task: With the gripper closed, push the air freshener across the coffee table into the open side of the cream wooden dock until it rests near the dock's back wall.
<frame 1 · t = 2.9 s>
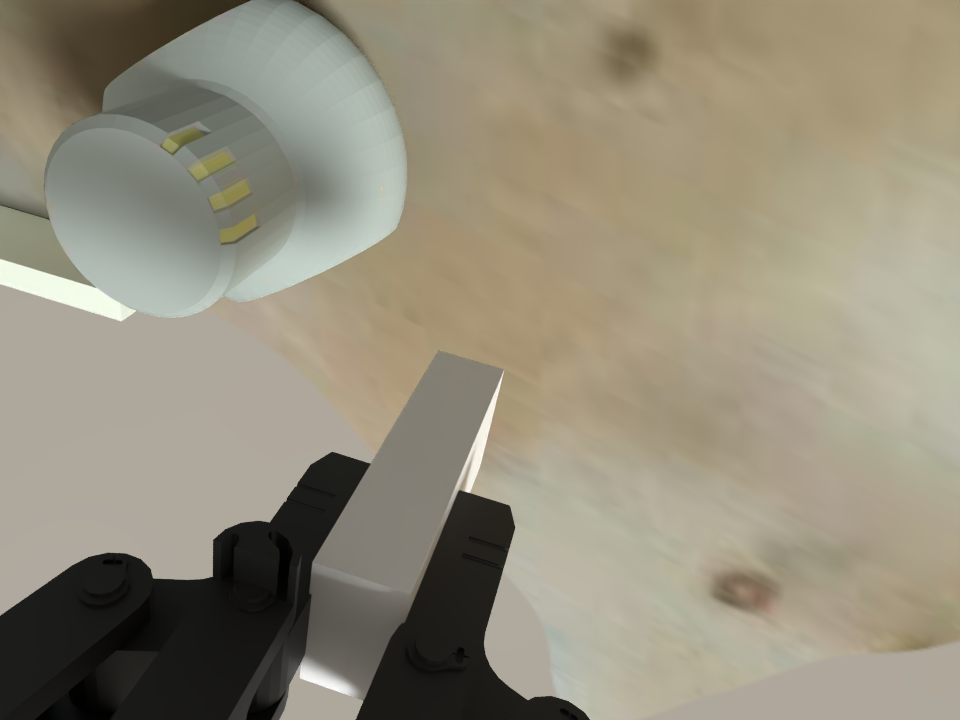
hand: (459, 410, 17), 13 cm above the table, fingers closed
air freshener: (295, 138, 29), on the table
dock: (37, 70, 30), on the table
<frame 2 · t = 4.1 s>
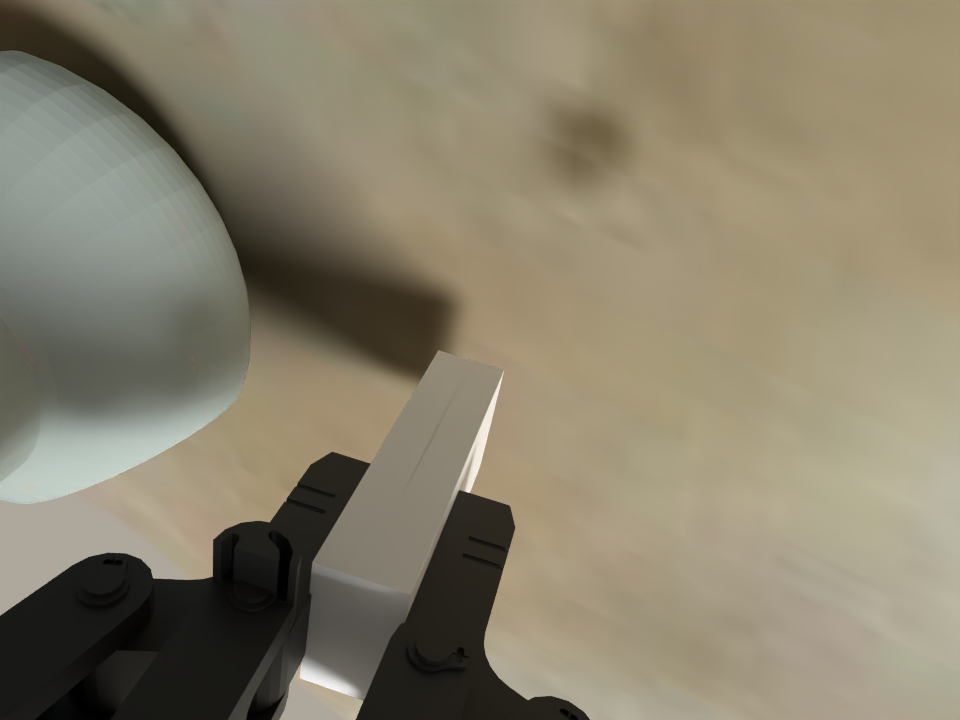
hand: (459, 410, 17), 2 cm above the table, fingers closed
air freshener: (109, 247, 20), on the table
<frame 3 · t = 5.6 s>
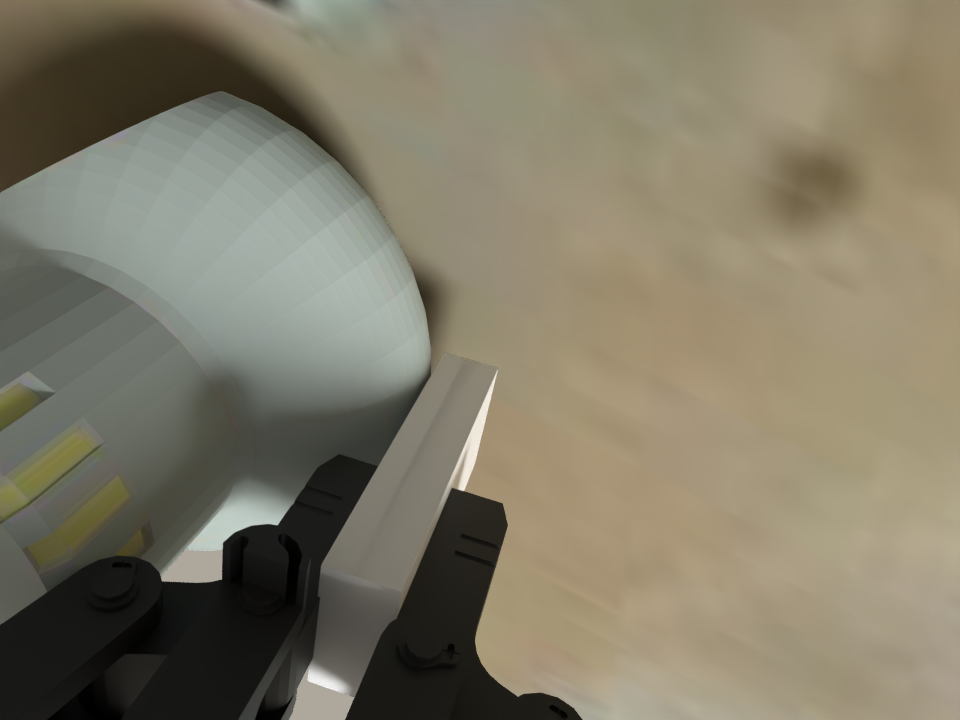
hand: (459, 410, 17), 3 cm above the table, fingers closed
air freshener: (267, 280, 19), on the table, touching gripper, hand
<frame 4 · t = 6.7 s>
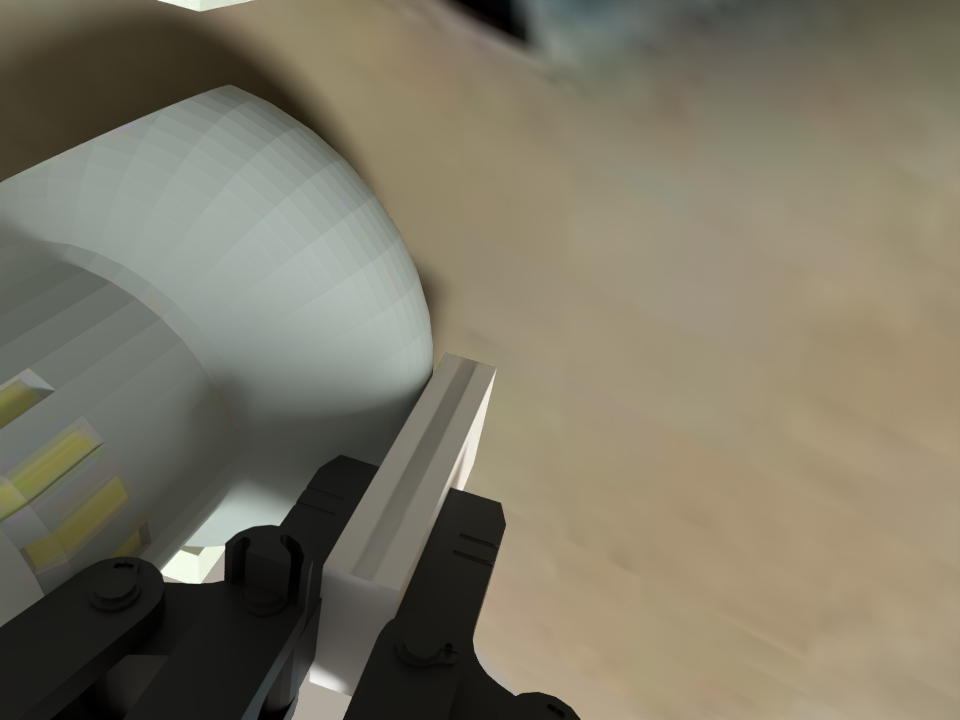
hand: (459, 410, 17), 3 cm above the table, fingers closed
air freshener: (268, 274, 19), on the table, touching gripper, hand
dock: (66, 203, 20), on the table
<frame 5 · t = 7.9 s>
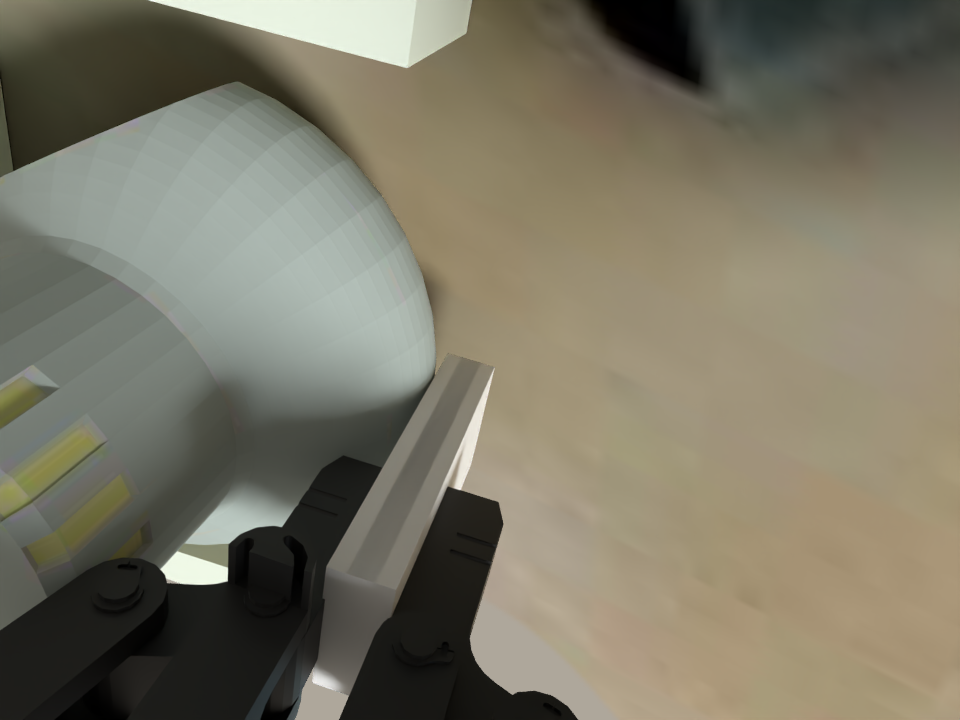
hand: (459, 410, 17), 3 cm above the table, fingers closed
air freshener: (270, 271, 19), on the table, touching gripper, hand
dock: (194, 244, 19), on the table
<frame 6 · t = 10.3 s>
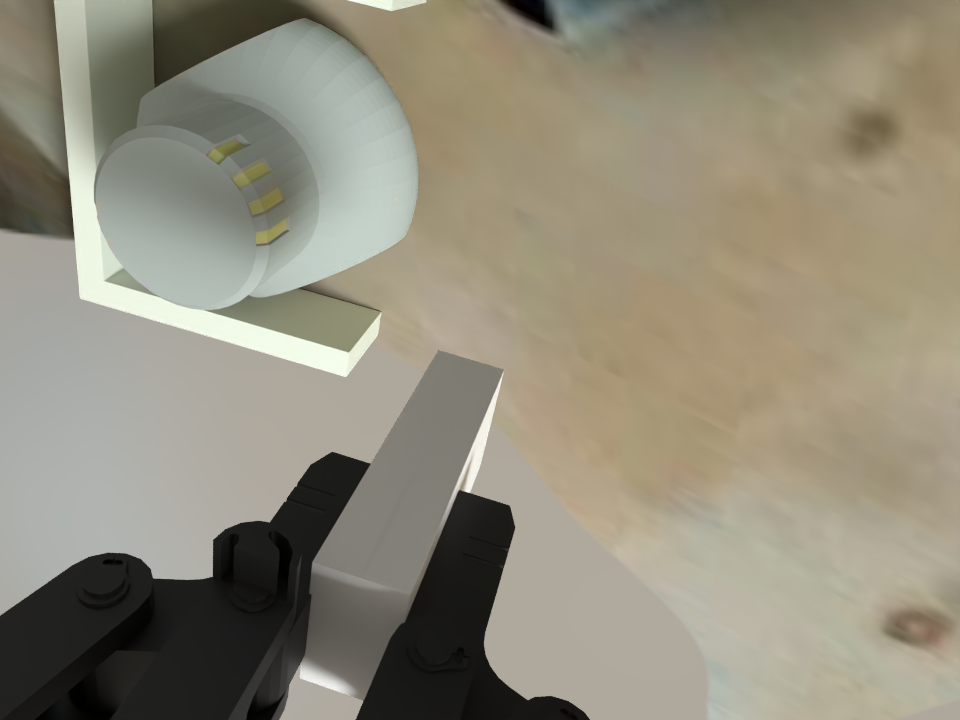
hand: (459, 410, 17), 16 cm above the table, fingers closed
air freshener: (312, 147, 32), on the table
dock: (265, 137, 32), on the table
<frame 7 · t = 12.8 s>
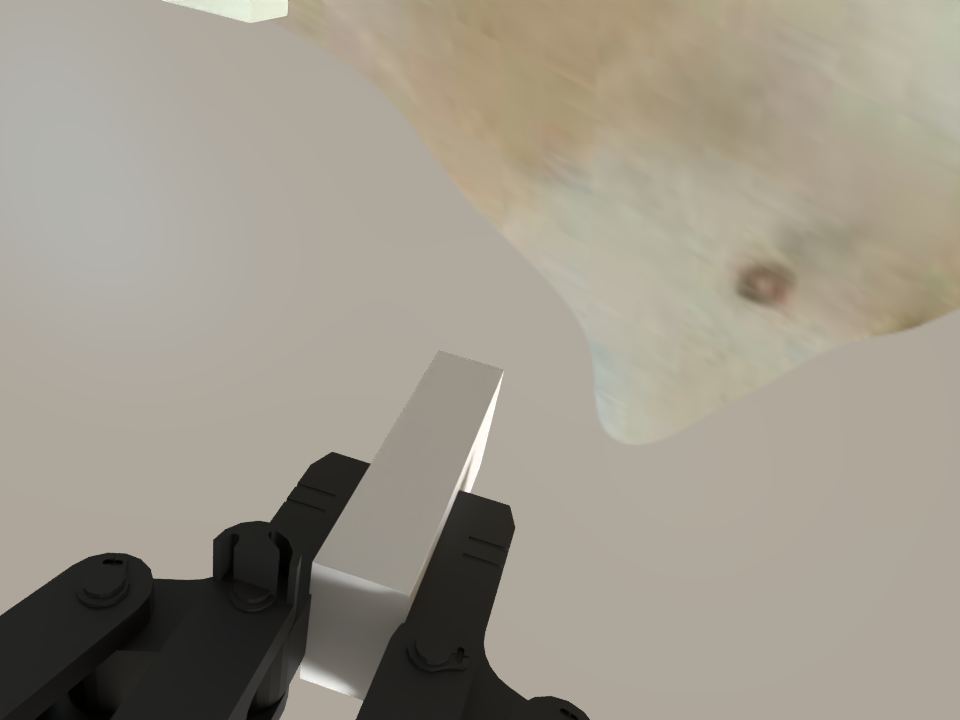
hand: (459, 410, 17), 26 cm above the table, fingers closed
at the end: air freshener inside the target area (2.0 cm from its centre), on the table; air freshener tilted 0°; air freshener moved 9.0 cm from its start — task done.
